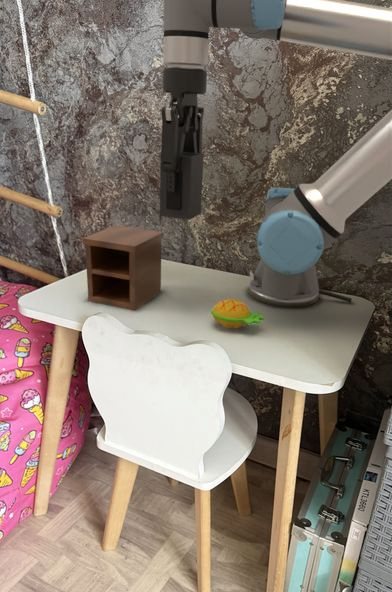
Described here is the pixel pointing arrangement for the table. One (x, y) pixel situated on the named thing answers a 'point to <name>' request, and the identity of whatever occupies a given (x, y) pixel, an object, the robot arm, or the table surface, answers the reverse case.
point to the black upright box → (185, 187)
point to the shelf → (123, 266)
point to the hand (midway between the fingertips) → (180, 206)
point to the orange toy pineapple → (234, 314)
